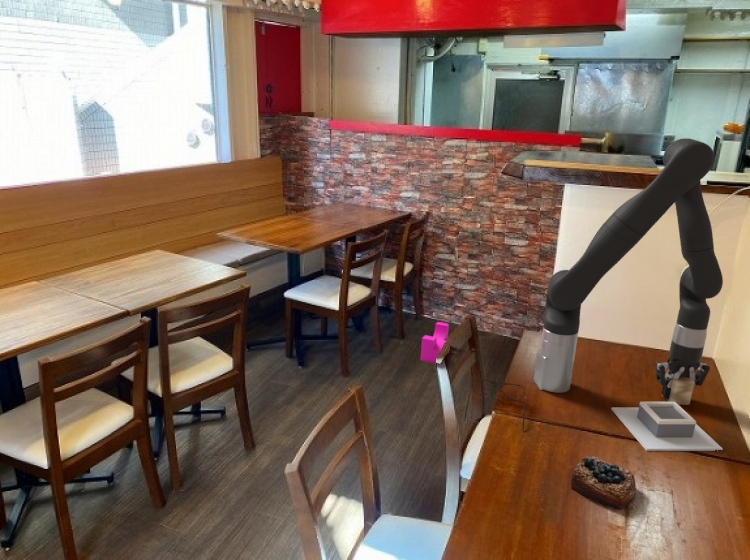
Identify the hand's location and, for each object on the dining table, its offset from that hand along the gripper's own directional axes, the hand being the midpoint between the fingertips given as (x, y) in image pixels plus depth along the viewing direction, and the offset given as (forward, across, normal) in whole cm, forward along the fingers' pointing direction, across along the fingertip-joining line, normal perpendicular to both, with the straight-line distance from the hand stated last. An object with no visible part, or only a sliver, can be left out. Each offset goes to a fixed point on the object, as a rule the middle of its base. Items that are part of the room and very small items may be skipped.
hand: (675, 397), depth 148 cm
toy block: (+1, -61, +29) cm, 67 cm away
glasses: (+2, -51, -6) cm, 51 cm away
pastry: (+1, -36, -36) cm, 51 cm away
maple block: (+1, 0, 0) cm, 1 cm away
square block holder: (+1, -11, -14) cm, 18 cm away
